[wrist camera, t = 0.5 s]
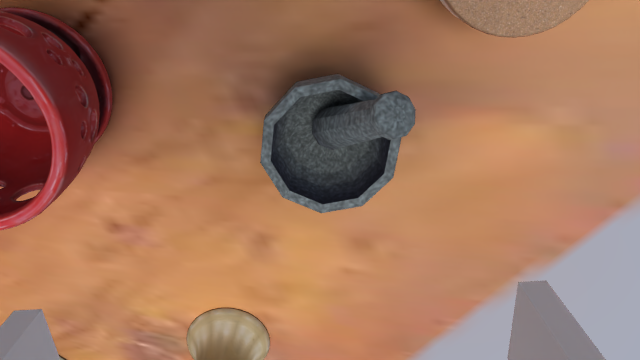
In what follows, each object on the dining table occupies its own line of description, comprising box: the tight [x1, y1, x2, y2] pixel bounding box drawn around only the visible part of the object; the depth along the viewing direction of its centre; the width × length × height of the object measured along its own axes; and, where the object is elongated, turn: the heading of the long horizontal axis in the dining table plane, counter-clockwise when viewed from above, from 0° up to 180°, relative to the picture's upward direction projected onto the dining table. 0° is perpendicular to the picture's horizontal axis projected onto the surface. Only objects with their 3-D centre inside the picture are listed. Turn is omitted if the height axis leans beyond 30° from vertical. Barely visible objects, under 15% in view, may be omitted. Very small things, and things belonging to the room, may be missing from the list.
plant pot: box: [0, 8, 112, 230], centre depth 32 cm, size 13×13×12 cm
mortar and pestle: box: [260, 74, 415, 213], centre depth 33 cm, size 11×9×12 cm
